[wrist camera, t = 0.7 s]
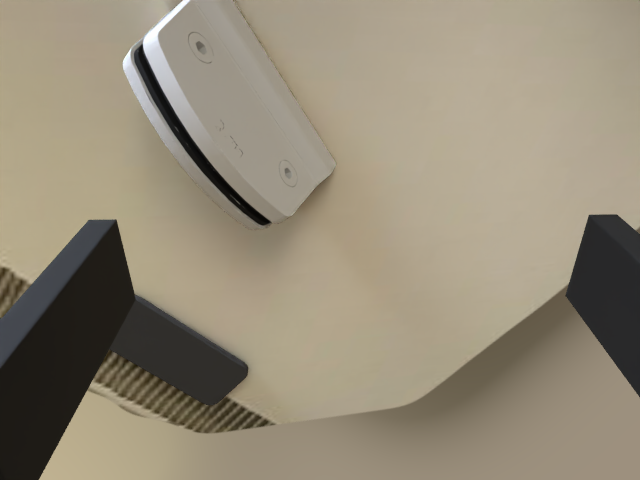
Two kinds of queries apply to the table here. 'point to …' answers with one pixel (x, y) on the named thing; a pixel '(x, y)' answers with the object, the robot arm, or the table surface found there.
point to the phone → (177, 354)
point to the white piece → (227, 112)
